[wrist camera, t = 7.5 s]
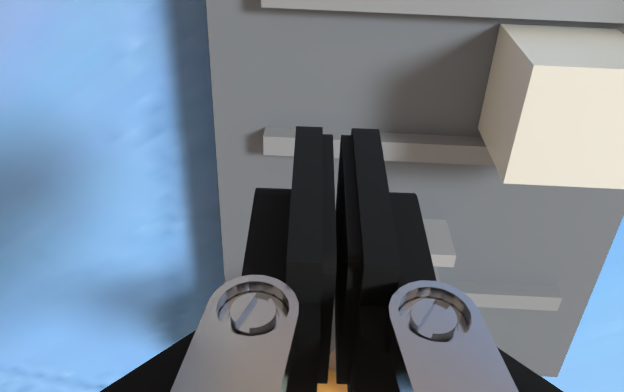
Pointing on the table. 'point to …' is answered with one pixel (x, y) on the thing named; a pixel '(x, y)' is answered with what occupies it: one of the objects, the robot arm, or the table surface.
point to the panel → (414, 144)
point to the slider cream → (556, 106)
